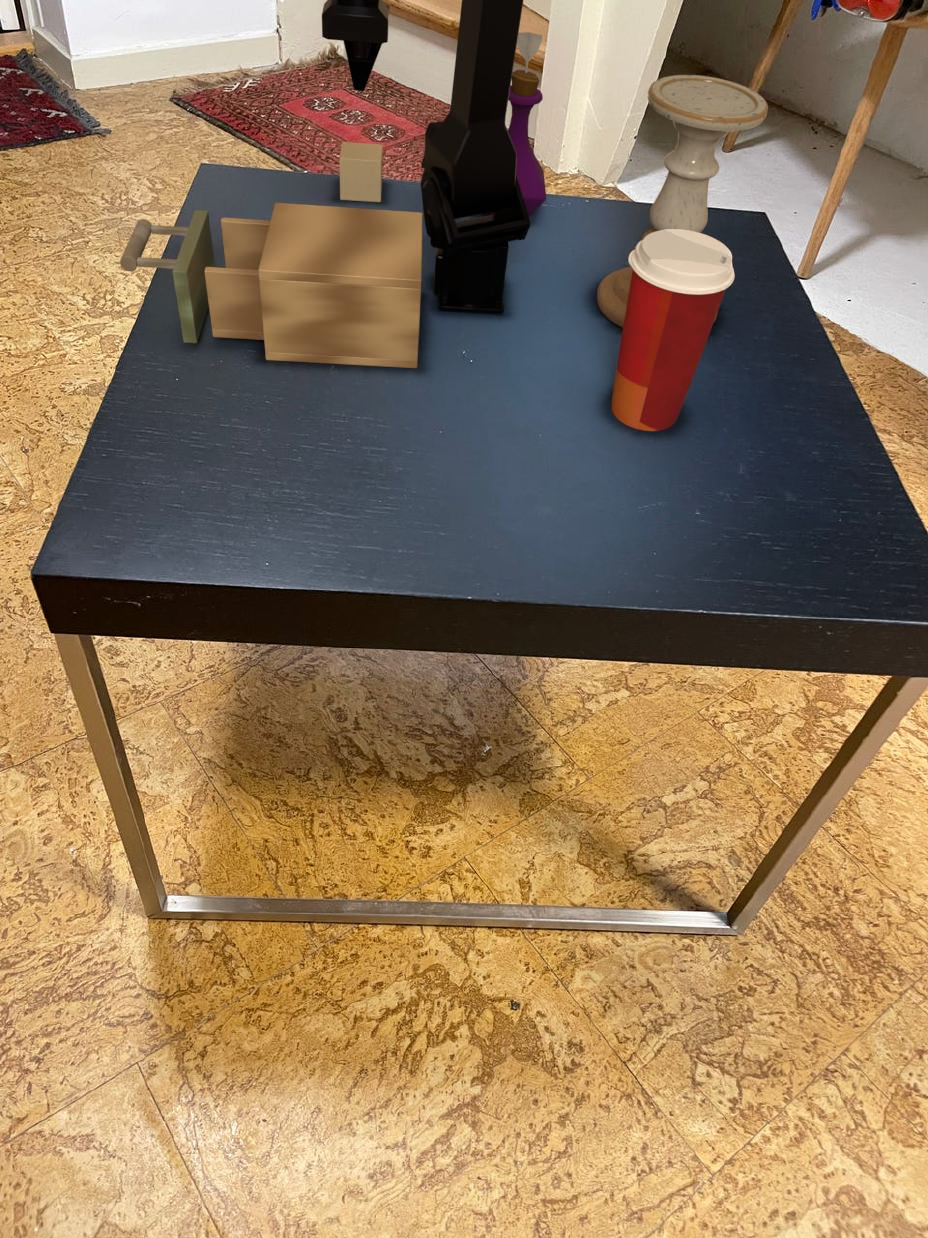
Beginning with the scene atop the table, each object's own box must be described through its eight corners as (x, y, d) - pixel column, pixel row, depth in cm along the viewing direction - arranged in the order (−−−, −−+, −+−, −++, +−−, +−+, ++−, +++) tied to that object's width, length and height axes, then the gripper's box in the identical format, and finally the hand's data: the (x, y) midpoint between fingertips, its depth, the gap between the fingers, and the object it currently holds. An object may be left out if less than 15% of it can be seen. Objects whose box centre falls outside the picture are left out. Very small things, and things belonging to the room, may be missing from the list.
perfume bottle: (542, 227, 107) (568, 50, 94) (476, 222, 107) (492, 43, 93) (539, 198, 112) (563, 25, 99) (476, 192, 112) (492, 19, 98)
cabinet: (265, 359, 85) (258, 269, 79) (280, 288, 94) (274, 202, 87) (417, 368, 86) (421, 280, 80) (418, 297, 95) (422, 212, 88)
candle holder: (737, 310, 98) (804, 100, 83) (676, 355, 91) (737, 135, 76) (637, 265, 103) (684, 60, 88) (572, 305, 96) (610, 89, 81)
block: (382, 184, 111) (382, 144, 108) (380, 202, 108) (381, 161, 105) (342, 182, 111) (342, 141, 107) (340, 199, 108) (339, 157, 104)
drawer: (127, 339, 84) (112, 267, 79) (152, 275, 92) (140, 205, 87) (324, 350, 85) (322, 280, 80) (333, 286, 93) (332, 218, 88)
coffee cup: (697, 398, 87) (746, 239, 76) (681, 449, 81) (731, 286, 70) (608, 375, 88) (643, 216, 77) (586, 423, 83) (622, 260, 72)
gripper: (282, -121, 95) (290, 52, 107) (261, -72, 83) (273, 117, 94) (393, -111, 96) (390, 59, 108) (389, -61, 84) (386, 125, 95)
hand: (359, 88), depth 101 cm, fingers closed
